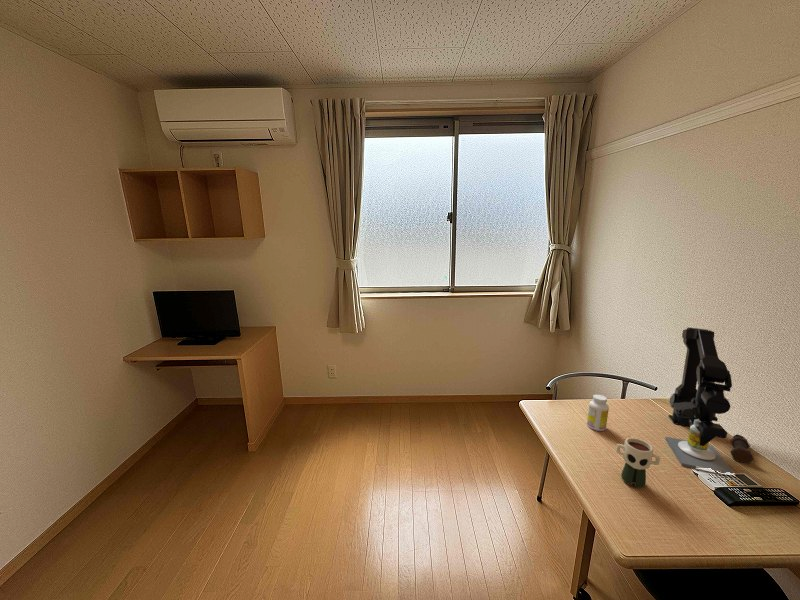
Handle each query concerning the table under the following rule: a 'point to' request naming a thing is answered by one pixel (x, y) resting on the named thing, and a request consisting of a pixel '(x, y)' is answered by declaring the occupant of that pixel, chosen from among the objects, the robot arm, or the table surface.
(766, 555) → the table surface
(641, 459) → the character mug
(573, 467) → the table surface
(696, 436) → the supplement bottle
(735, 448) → the bolt
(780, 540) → the table surface
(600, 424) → the supplement bottle
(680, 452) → the scale
